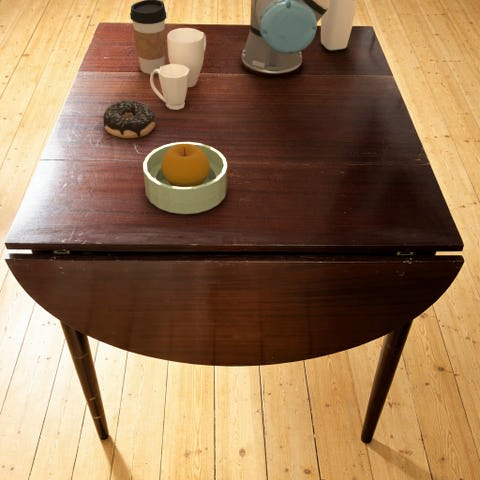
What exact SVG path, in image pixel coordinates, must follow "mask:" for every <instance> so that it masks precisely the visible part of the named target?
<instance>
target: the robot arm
mask: <svg viewBox="0 0 480 480" xmlns="http://www.w3.org/2000/svg"><path fill="white" fill-rule="evenodd" d="M328 8H329V0H250V18H249V19H250V23H249V33H248V36H247V38H246V42H245V45H244V47H243V50H242V52H241V66H242V68H243V69H244V70H246V71H247V72H249V73H251V74H253V75H257V76H259V77H265V78H284V77H289V76H293V75H294V74H296V73H298V72H299V71H300V70H301V69H302V66H303V55H302V52H301V51H303V50H305V49H306V48H308V46H309V45H310V44H311V43H312V42H313V41H314V38H315V36H316V34H317V29H318V22H319V21H321V17H322V16H323V15H324V14H325V12H326V11H327V10H328Z"/></svg>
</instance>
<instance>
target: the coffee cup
mask: <svg viewBox="0 0 480 480" xmlns="http://www.w3.org/2000/svg"><path fill="white" fill-rule="evenodd" d="M129 18H130V20H131V21H132V30H133V37H134V42H135V46H136V52H137V56H138V64H139V69H140V71H141V72H142V73H145V74H148V75H151V73H152V72H153V71H154V70H155V69H160V67H161V66H165V65H166V63H165V61H166V60H165V59H166V58H165V57H166V56H165V55H166V29H167V27H166V19H167V11H166V7H165V2H164V1H162V0H141V1H137V2H135V3H133V4H132V5H131V6H130V12H129ZM154 75H158V73H157V72H155V73H154Z"/></svg>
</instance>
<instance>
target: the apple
mask: <svg viewBox="0 0 480 480" xmlns="http://www.w3.org/2000/svg"><path fill="white" fill-rule="evenodd" d="M209 168H210V163H209V161H208V158H207V156H206V154H205V153H204V152H203V151H202V150H201V149H200V148H199V147H197V146H195V145H193V144H188V143H181V144H178V145H175V146H173V147H171V148H170V149H169V150H168V151H167V152H166V153H165V154H164V157H163V161H162V165H161V169H162V172H163V175H164V177H165V178H166V179H167V181H168V182H169V183H170V184H171V185H172V186H176V187H195V186H199V185H202V183H203V182H204V181H205V179H206V178H207V176H208V174H209Z"/></svg>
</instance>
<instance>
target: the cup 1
mask: <svg viewBox="0 0 480 480" xmlns="http://www.w3.org/2000/svg"><path fill="white" fill-rule="evenodd" d="M189 70H190V69H188V68H187V67H185V66H184V65H181V64H170V63H168V64H165V66H161V67H160V69H155V70H154V71H153V72H152V73H151V74H150V77H149V83H150V87H151V89H152V90H153V92H154V94H156V95H157V97H158V98H159V99H160V100H161V101H163V102H164V103H165V106H166V107H167V108H168V109H169V110H181V109H183V108H184V107H185V105H186V102H185V100H186V98H187V93H188V88H189V87H188V79H189ZM155 72H157V75H158V79H159V84H160V89H161V92H162V93H160V92H159V90H158V89H157V87H156V86H155V83H154V75H155V74H154V73H155Z"/></svg>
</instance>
